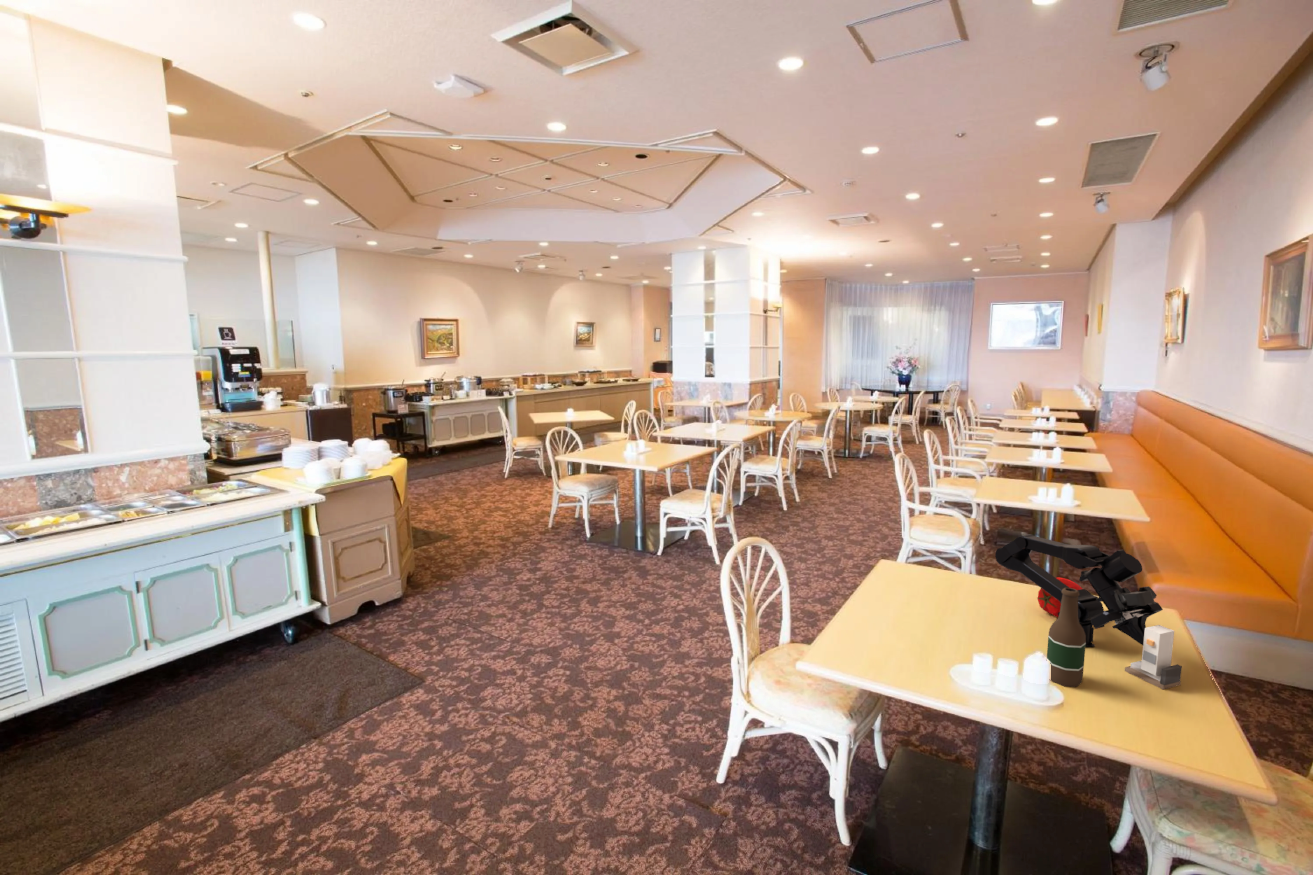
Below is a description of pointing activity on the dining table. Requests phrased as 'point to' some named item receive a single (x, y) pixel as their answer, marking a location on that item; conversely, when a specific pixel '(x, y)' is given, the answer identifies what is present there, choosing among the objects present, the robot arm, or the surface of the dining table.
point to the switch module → (1157, 649)
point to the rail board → (1165, 680)
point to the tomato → (1050, 602)
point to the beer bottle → (1067, 643)
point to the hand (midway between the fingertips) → (1148, 646)
